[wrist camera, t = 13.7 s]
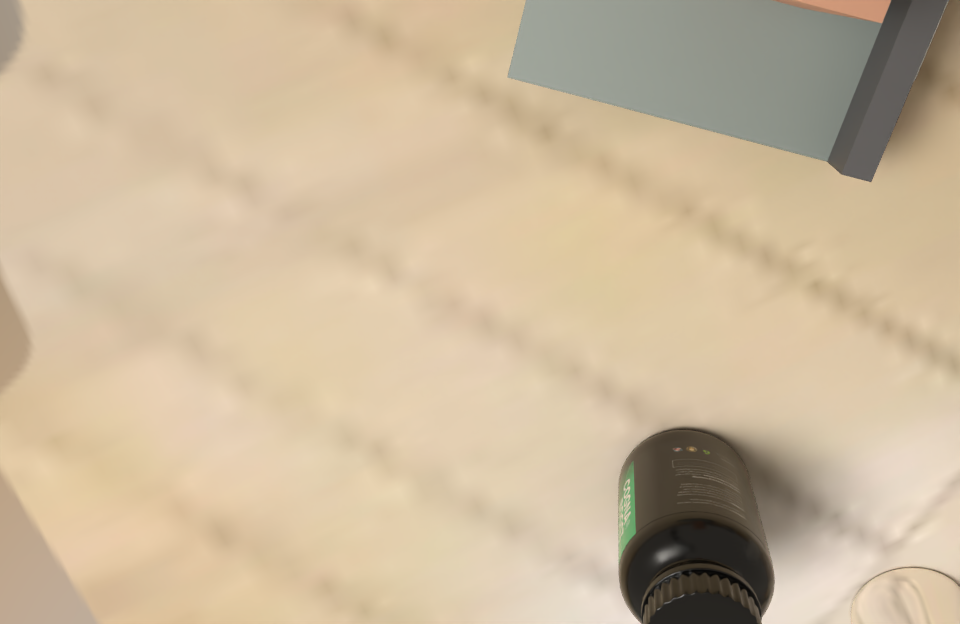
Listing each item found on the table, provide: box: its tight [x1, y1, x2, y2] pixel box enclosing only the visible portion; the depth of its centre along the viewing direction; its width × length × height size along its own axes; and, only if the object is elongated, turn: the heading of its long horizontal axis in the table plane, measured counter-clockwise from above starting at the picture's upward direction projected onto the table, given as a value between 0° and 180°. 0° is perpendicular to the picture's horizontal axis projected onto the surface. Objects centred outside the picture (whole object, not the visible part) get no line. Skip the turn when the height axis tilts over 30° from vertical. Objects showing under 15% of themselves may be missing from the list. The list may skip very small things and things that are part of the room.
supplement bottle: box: [618, 430, 775, 624], centre depth 41 cm, size 7×7×12 cm
